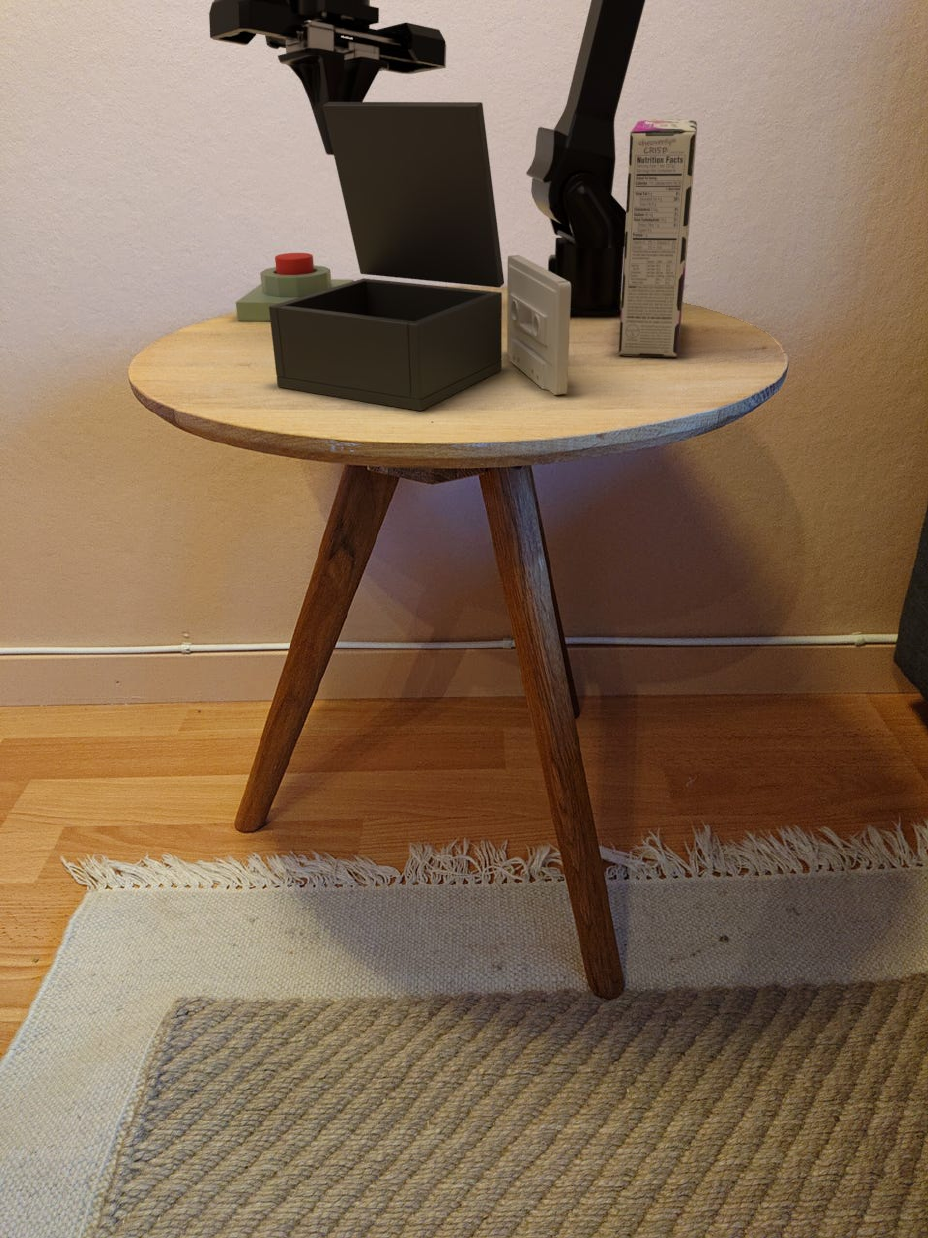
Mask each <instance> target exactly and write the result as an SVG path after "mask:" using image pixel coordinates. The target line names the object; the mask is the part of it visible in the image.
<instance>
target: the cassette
mask: <svg viewBox="0 0 928 1238" xmlns="http://www.w3.org/2000/svg"><path fill="white" fill-rule="evenodd" d="M506 284H507V285H506V287H507V288H506V290H507V291H506V293H507V295H506V297H507V298H506V299H507V301H506V302H507V303H506V304H507V305H506V308H507V309H506V354H507V357H509V362H511V364H512V365H514V366H515V367H516V368H517V369H519V370H520V371H521V373H523V374H525V375H526V376H527V377H528V378H529V379H530V380H531V381H532V382H534V383H535V384H536V385H537V386H539V387H540V388H541V389H542V390H547V391H549V392H550V393H551V394H553V395H554V396H558V395H559V396H560V395H566V394H567V393H568V383H569V382H568V380H569V356H570V331H571V330H570V329H571V328H570V327H571V315H570V305H571V283H570V282H569V281H567V280H565V279H563V278H561V277H559V276H557V275H556V274H554V273H552V272H550V271H548V269H546V268H545V267H543V266H541V265H539V264H536V263H535V262H533V261H532V260H529V259H527V258H526V257H524V256H522V255H520V254H516V255H513V254H512V255H508V256H507V283H506Z"/></svg>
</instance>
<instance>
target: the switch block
mask: <svg viewBox="0 0 928 1238" xmlns="http://www.w3.org/2000/svg"><path fill="white" fill-rule="evenodd" d="M259 275H260V276H259V277H260V284H259V285H257V286H256V287H254V288H253V289H252V290H251V291H249V292H248V293H246V294H245V295H243V296H242V297H241V298H239V299H238V300H236V301H235V308H236V315H237V321H239V322H241V321H246V322H251V321H252V322H254V321H255V322H260V321H261V322H270V314H269V306H272V305H276V304H279V303H282V302H286V301H289V300H293V299H296V298H299V297H303V296H306V295H309V294H313V293H316V292H319V291H323V290H326V289H329V288H333V287H336V286H340V285H343V284H346V283H350V282H353V281H355V280H354V279H339V278H338V279H337V278H336V279H332V273H331V269H330V268H329V267H327V266H323V265H315V264H314V272H313V273H309V274H301V275H281V274H277V273H276V266H273V267H268V268H265V269H264V270H262V271H261V272H260V273H259Z"/></svg>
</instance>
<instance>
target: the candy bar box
mask: <svg viewBox="0 0 928 1238" xmlns="http://www.w3.org/2000/svg"><path fill="white" fill-rule="evenodd" d="M697 132H698V123H697V120H695V119H685V118H683V119H682V118H679V119H678V118H677V119H673V118H672V119H671V118H669V119H668V118H667V119H645V120H640V121H639V120H638V121H637V122H636V124H635V125H634V127H633V128H632V130H630V133H629V154H628V155H629V156H628V171H627V173H628V174H627V186H626V187H627V188H626V204H625V205H626V206H625V211H626V226H625V245H624V256H623V272H622V288H621V315H620V318H619V321H620V322H619V336H618V337H619V339H618V355H620V356H625V357H635V358H636V357H637V358H638V357H639V358H640V357H644V358H676V357H677V356H678V351H679V342H680V334H681V325H682V313H683V301H684V291H685V282H686V281H685V279H686V270H687V269H686V268H687V258H688V245H689V232H690V224H691V223H690V222H691V210H692V200H693V199H692V198H693V188H694V176H695V175H694V174H695V163H696V149H697V135H698V133H697Z"/></svg>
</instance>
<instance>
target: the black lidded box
mask: <svg viewBox="0 0 928 1238" xmlns="http://www.w3.org/2000/svg"><path fill="white" fill-rule="evenodd" d="M269 314H270V321H269V323H270V331H271V339H272V348H273V355H274V356H273V358H274V365H275V366H274V367H275V374H276V383H277V385H276V386H277V387H278V388H283V389H288V390H294V391H300V392H306V393H311V394H316V395H317V394H318V395H323V396H324V395H325V396H330V397H336V398H340V399H347V400H353V401H360V402H365V403H370V404H377V405H383V406H387V407H388V406H389V407H395V408H400V409H406V410H413V411H419V412H423V411H424V410H427V409H428V408H430V407H433V406H434V405H436V404H438V403H440V402H442V401H444V400H446V399H447V398H450V397H452V396H453V395H455V394H457V393H459V392H461V391H463V390H465V389H467V388H469V387H471V386H474V385H475V384H477V383H479V382H481V381H483V380H485V379H487V378H489V377H490V376H493V375H495V374H496V373H498V372H500V371H502V351H503V350H502V348H503V347H502V344H503V343H502V341H503V339H502V338H503V337H502V335H503V331H502V330H503V329H502V328H503V326H502V325H503V315H502V314H503V293H502V292H501V291H492V290H483V289H472V288H464V287H463V288H462V287H454V286H453V287H452V286H444V285H443V286H441V285H433V284H425V283H414V282H403V281H395V280H393V281H392V280H385V279H376V278H375V279H373V278H363V277H362V278H360V279H357V280H354V281H353V282H350V283H346V284H343V285H340V286H336V287H333V288H329V289H326V290H323V291H319V292H316V293H313V294H309V295H306V296H303V297H299V298H296V299H293V300H289V301H286V302H282V303H279V304H276V305H272V306H269Z"/></svg>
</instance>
